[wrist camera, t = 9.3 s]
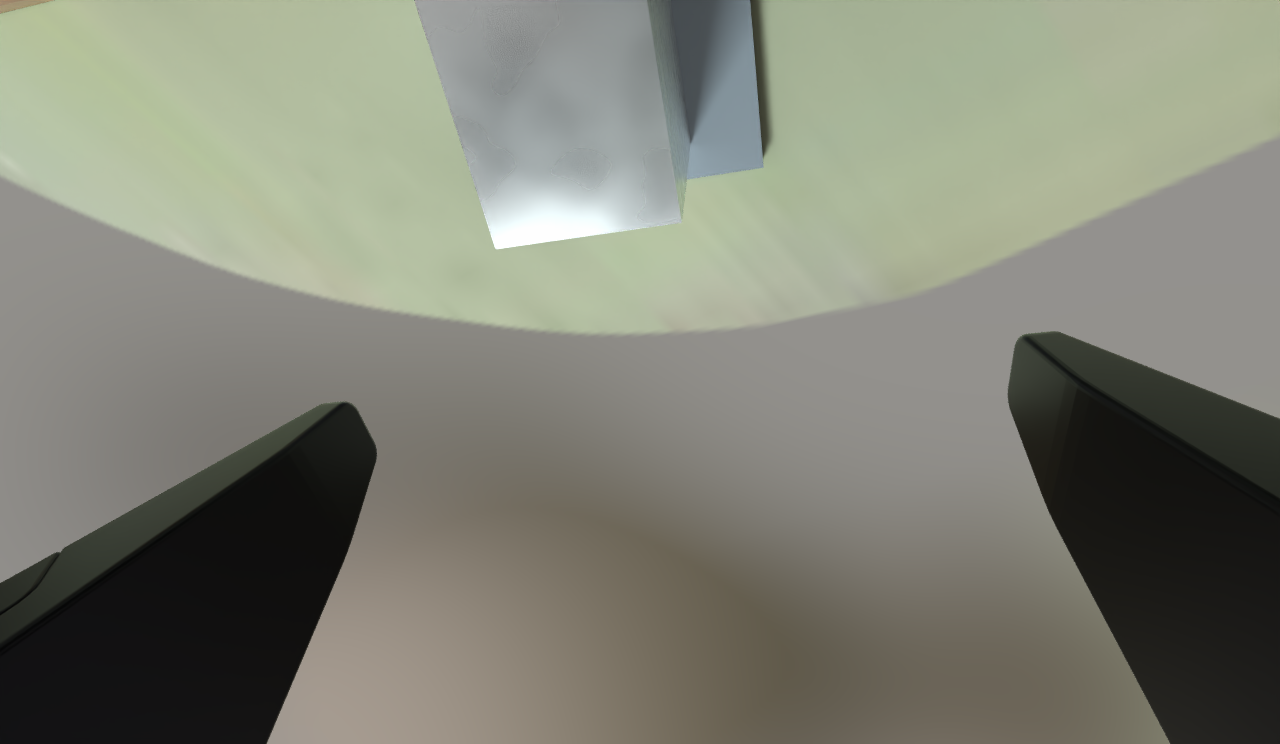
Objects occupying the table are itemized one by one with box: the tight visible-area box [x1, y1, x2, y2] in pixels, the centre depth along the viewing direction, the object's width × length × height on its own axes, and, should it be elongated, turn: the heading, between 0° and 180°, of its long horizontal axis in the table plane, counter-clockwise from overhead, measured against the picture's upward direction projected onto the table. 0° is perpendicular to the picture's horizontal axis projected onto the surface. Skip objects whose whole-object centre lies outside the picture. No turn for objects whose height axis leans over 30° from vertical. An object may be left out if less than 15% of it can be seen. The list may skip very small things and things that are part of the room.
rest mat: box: [671, 0, 763, 179], centre depth 17 cm, size 8×9×1 cm
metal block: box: [414, 0, 691, 249], centre depth 14 cm, size 4×7×6 cm, turn 11°
